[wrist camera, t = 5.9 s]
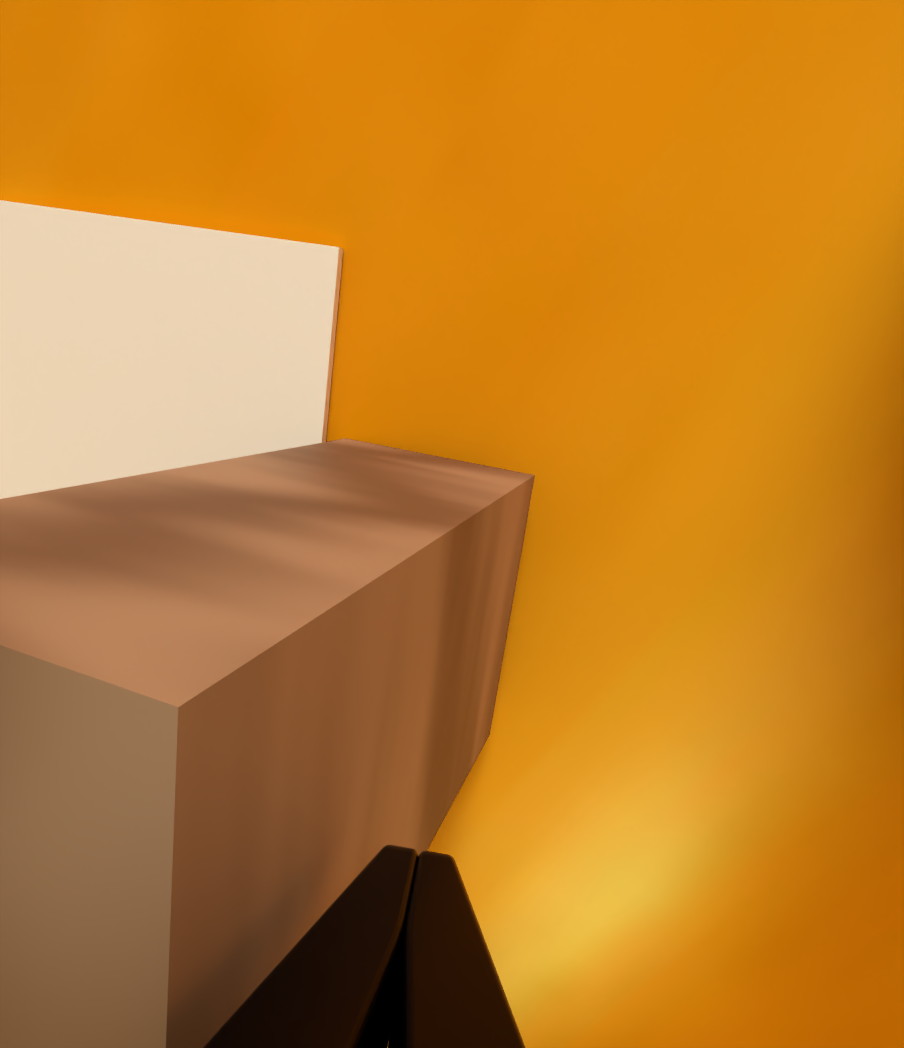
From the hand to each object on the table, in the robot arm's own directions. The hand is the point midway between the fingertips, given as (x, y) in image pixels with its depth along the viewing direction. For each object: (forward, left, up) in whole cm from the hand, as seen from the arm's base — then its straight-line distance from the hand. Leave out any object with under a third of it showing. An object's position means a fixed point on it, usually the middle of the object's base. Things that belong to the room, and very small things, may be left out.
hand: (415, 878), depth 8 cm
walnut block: (+1, 0, -10) cm, 10 cm away
